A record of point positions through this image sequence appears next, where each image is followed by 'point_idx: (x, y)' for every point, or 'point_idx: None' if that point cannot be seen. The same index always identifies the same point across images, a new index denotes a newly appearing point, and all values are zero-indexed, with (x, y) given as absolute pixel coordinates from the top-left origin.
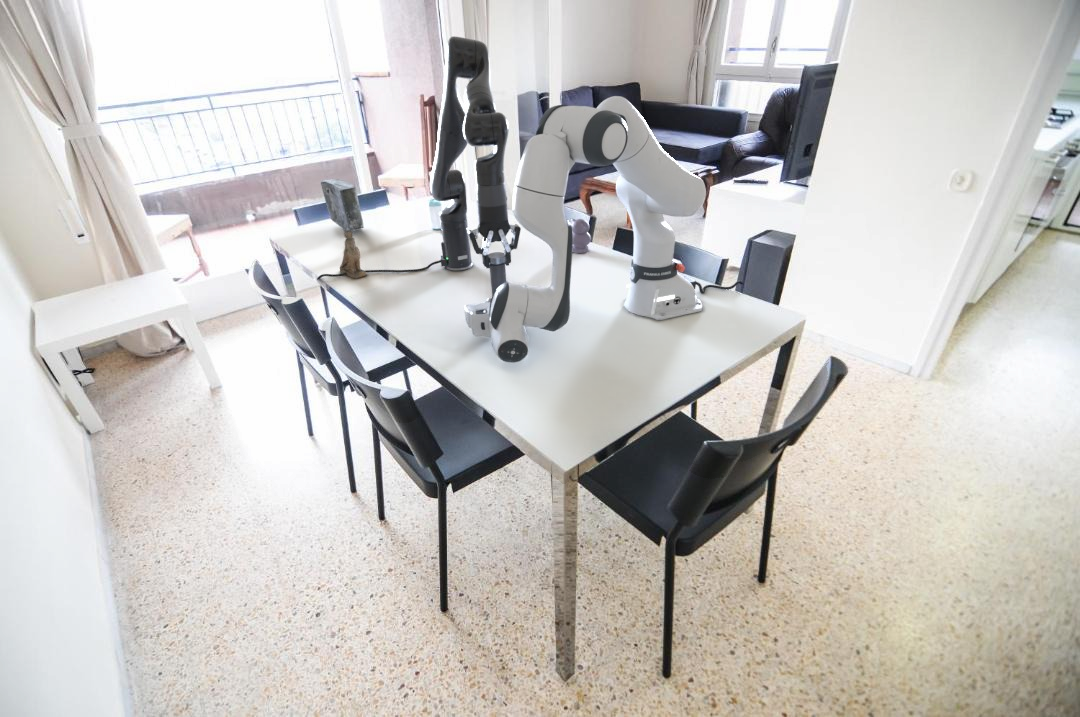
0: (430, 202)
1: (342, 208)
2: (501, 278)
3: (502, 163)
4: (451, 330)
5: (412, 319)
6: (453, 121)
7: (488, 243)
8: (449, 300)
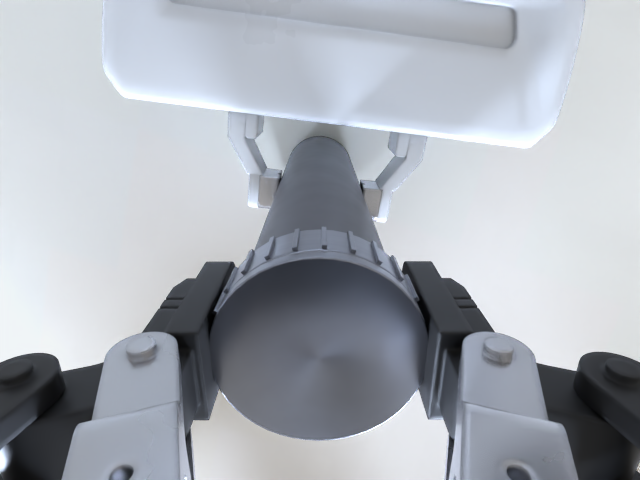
0: None
1: None
2: (305, 194)
3: None
4: (532, 173)
5: (633, 313)
6: None
7: (509, 456)
8: None
